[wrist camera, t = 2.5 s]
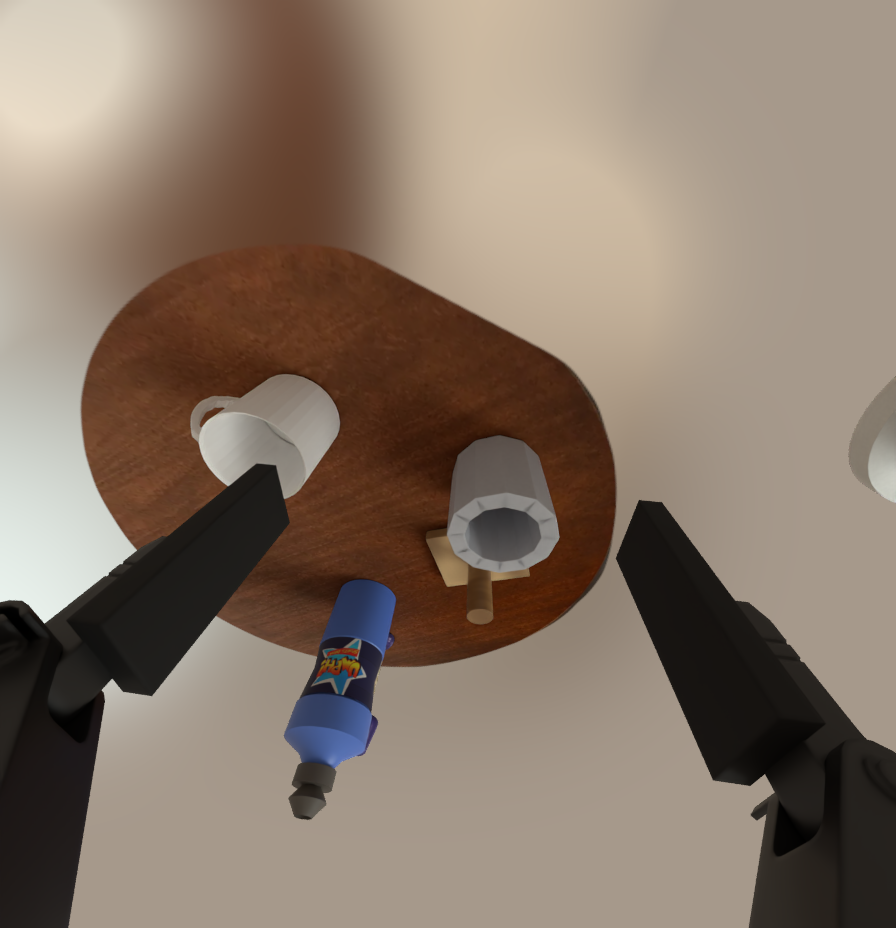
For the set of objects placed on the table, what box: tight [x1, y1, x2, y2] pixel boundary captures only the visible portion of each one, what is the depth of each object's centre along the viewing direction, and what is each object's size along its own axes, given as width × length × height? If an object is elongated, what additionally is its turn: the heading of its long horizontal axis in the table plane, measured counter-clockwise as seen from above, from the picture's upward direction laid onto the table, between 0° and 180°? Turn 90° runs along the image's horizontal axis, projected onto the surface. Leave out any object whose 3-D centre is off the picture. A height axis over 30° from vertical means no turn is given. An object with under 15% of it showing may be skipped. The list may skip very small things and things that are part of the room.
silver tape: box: [447, 435, 559, 573], centre depth 36 cm, size 10×10×10 cm
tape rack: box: [426, 528, 530, 624], centre depth 43 cm, size 12×10×10 cm
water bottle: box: [284, 579, 396, 820], centre depth 44 cm, size 9×9×25 cm
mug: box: [191, 374, 340, 499], centre depth 33 cm, size 12×9×9 cm
